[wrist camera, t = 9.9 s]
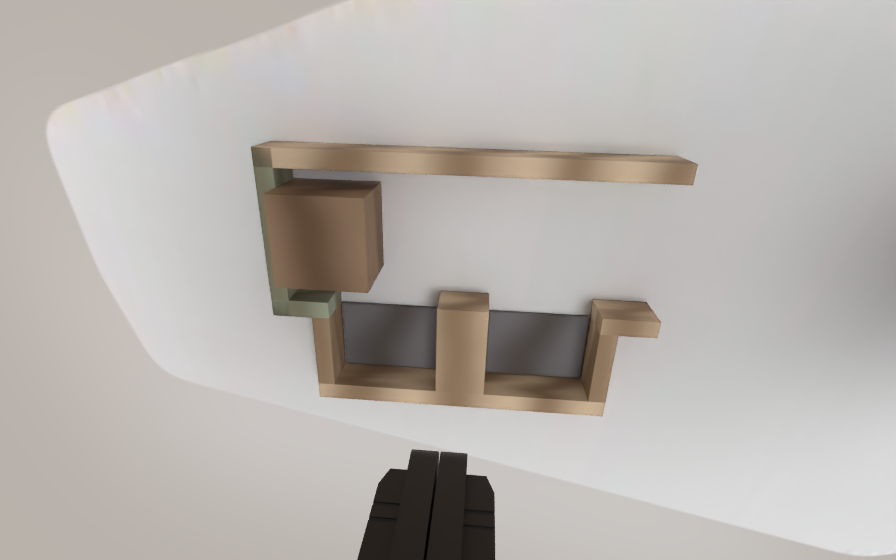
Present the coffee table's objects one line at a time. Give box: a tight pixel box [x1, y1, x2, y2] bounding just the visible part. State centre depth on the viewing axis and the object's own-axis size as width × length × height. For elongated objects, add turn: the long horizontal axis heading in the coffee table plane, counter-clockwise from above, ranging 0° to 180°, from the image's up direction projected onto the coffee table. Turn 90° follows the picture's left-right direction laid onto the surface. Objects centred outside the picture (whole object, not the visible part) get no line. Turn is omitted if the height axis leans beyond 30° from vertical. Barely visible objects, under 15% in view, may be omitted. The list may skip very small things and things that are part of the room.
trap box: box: [251, 141, 698, 416], centre depth 32 cm, size 26×18×3 cm
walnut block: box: [263, 178, 384, 293], centre depth 31 cm, size 6×6×5 cm
